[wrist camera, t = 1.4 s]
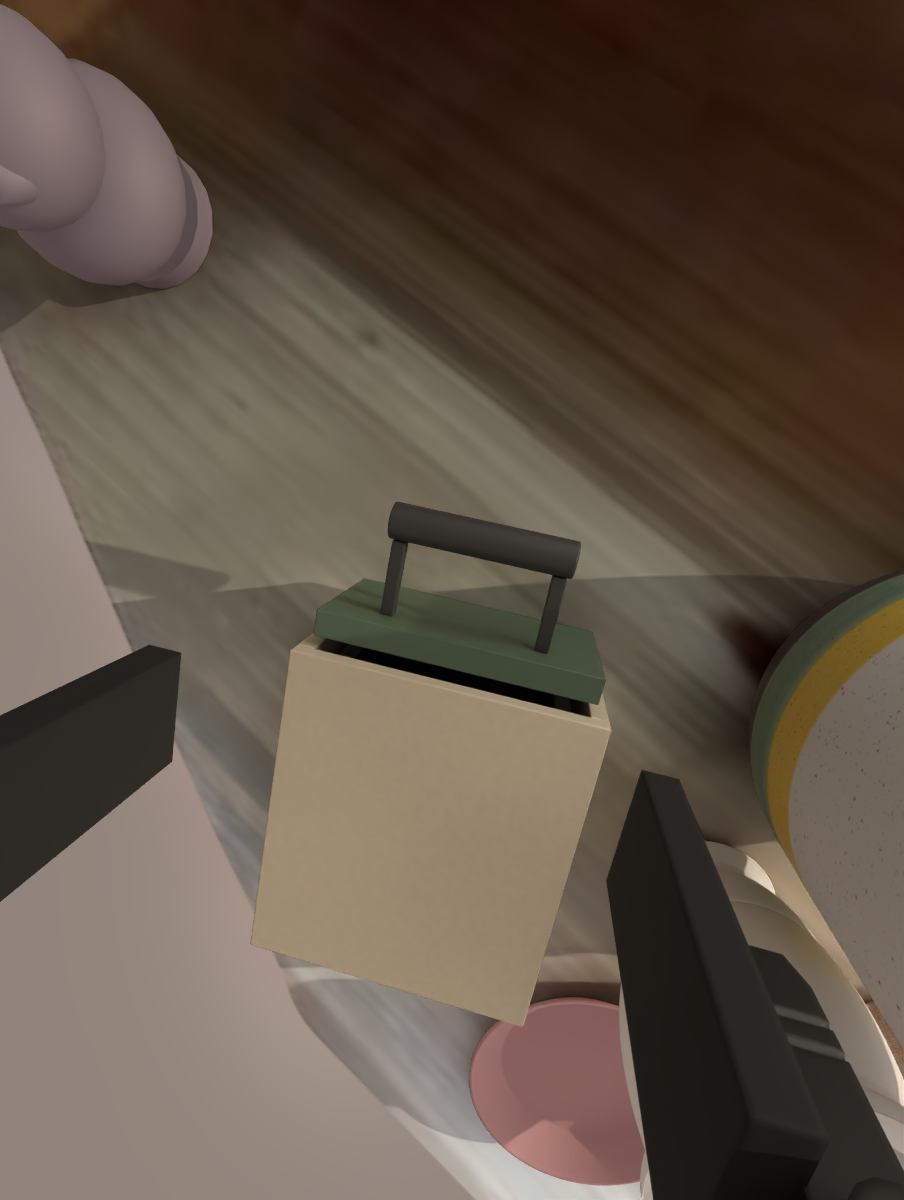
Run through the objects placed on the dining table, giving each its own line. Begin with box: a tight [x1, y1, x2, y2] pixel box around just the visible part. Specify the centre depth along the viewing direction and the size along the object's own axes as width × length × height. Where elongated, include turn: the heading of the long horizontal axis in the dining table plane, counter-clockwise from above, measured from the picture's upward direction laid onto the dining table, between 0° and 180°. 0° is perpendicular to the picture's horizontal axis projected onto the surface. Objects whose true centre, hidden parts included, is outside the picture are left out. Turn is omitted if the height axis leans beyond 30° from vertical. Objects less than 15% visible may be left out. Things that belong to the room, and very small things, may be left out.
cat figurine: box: [0, 4, 213, 289], centre depth 24 cm, size 8×8×12 cm
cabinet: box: [251, 633, 611, 1027], centre depth 30 cm, size 16×14×9 cm
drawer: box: [314, 502, 606, 713], centre depth 29 cm, size 20×12×7 cm, turn 169°
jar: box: [619, 841, 904, 1200], centre depth 27 cm, size 11×10×15 cm
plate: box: [469, 997, 645, 1185], centre depth 37 cm, size 14×14×2 cm
